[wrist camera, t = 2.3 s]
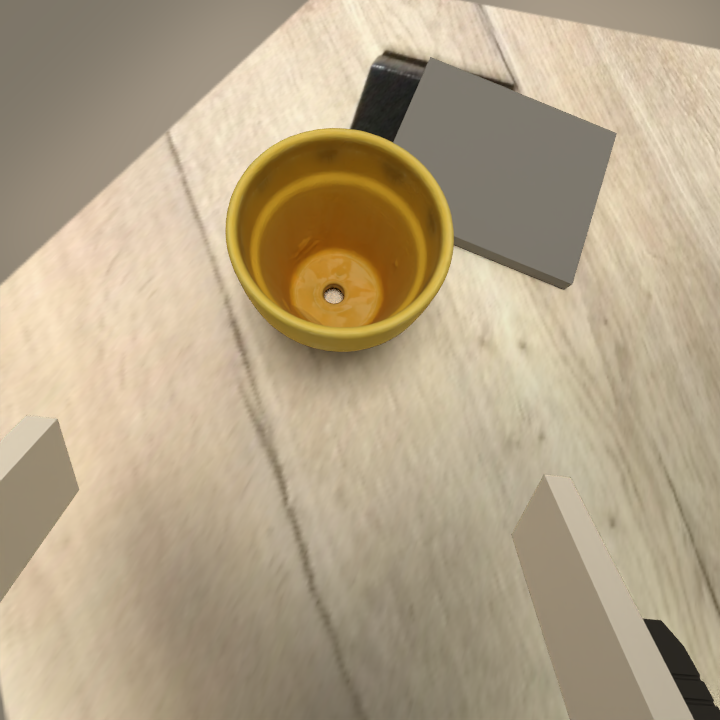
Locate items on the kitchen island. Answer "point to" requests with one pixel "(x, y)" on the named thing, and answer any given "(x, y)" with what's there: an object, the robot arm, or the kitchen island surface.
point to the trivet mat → (508, 170)
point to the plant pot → (339, 238)
